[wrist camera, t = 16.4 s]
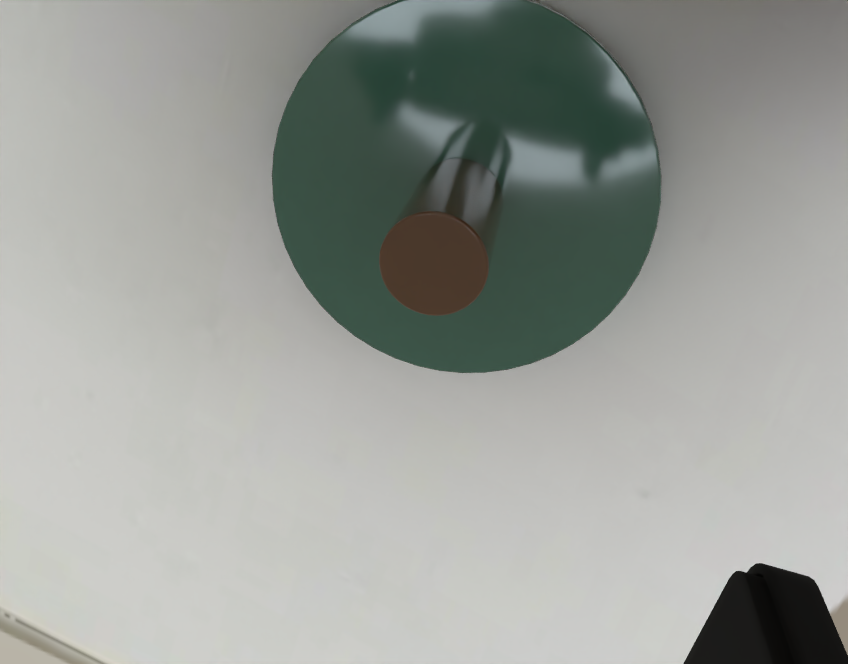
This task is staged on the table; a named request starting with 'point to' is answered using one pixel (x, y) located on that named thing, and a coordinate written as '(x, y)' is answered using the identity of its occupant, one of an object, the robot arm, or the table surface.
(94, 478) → the table surface
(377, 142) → the lid
